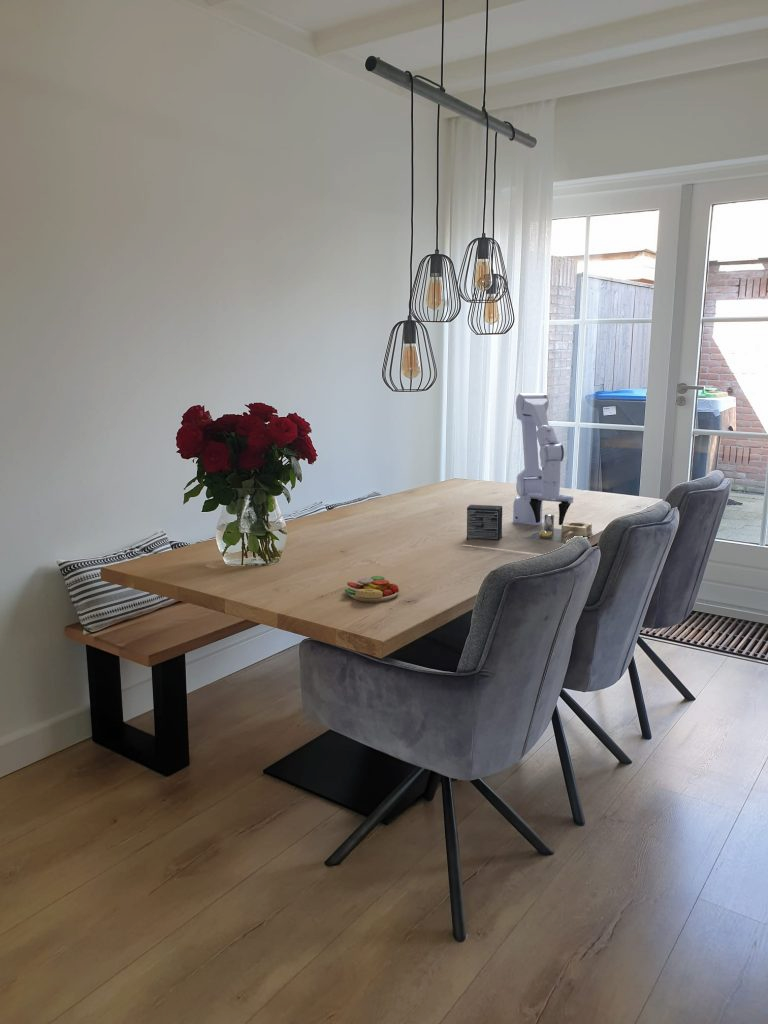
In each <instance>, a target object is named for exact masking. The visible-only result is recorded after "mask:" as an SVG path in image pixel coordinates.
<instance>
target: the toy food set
mask: <svg viewBox="0 0 768 1024" xmlns="http://www.w3.org/2000/svg"><path fill="white" fill-rule="evenodd" d="M385 578H386V577H385V576H381V575H373V576H371V577H364V578H363V577H362V578H359V579H358V580H357V582H358V583H357V582H352V581H347V583H346V585H347V586H348V588H345V589H344V592H346V593H347V595H348V596H349V597H351V598H352V600H353V599H354V600H356V601H359V602H366V603H367V602H369V603H371V602H373V603H374V602H375V603H377V602H383V601H384V602H385V601H390V600H392V599H394V598H396V597H397V596H398V595H399V593H400V588H399V586H398V585H397V584H396V583H393V582H391V581H389V580H387V579H385Z"/></svg>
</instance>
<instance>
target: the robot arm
mask: <svg viewBox="0 0 768 1024" xmlns="http://www.w3.org/2000/svg"><path fill="white" fill-rule="evenodd" d="M549 402H550V401H549V396H548V394H547V393H546V392H543V393H518V394H517V396H516V400H515V414H516V419H517V420H519V421H520V422H521V429H522V431H521V432H522V433H521V434H522V447H523V448H522V449H523V465H524V466H523V467H524V469H523V470H522V471H520V472H519V473H518V474H517V476H516V485H515V486H516V487H515V489H516V494H517V495H518V496H516V497H515V498H514V501H513V507H512V508H513V509H512V513H513V514H512V523H515V524H526V525H532V526H534V525H535V526H540V525H542V524H544V522H545V519H543V503H544V502H545V501H546V502H554V503H555V502H556V503H558V505H557V506H558V512H559V513H558V526H562V525H563V524H564V521H565V517H566V514H567V512H568V509H569V508H570V506H571V504H573V503H574V496H569V495H564V494H560V488H561V486H560V485H561V462H563V460H564V457H565V449H564V445H563V444H562V443H561V442H560V441H558V438H557V435H556V433H555V430H554V428H553V426H551V425H549V420H548V416H547V411H548V408H549V405H550V404H549ZM538 444H539V445H538ZM538 446H539V448H540V449H538ZM539 460H540V463H539ZM539 464H540V465H539ZM540 467H541V468H540ZM543 501H544V502H543Z"/></svg>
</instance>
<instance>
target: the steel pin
mask: <svg viewBox="0 0 768 1024" xmlns="http://www.w3.org/2000/svg"><path fill="white" fill-rule="evenodd" d="M544 520H545V522H543V525H544V527H543V528H544V530H548V531H552V534H554V528H555V514H553V513H545V514H544Z"/></svg>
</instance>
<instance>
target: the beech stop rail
mask: <svg viewBox="0 0 768 1024" xmlns="http://www.w3.org/2000/svg"><path fill="white" fill-rule="evenodd" d="M571 538H573V532H571V531H569V532H568V533H566V534H565V535H563V542H562V543H566V541H567V540H569V539H571Z"/></svg>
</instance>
